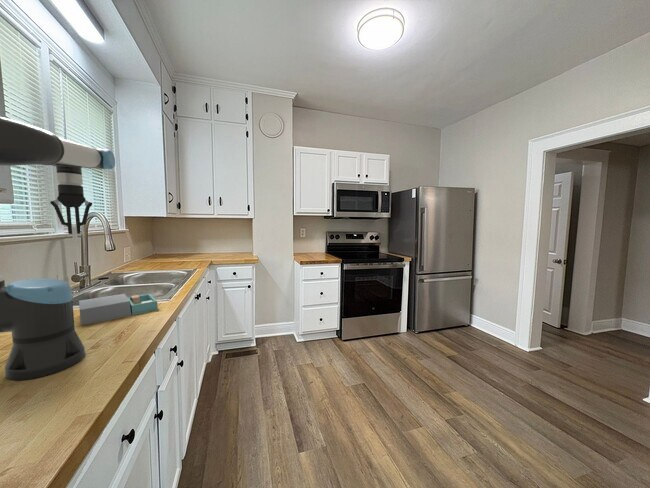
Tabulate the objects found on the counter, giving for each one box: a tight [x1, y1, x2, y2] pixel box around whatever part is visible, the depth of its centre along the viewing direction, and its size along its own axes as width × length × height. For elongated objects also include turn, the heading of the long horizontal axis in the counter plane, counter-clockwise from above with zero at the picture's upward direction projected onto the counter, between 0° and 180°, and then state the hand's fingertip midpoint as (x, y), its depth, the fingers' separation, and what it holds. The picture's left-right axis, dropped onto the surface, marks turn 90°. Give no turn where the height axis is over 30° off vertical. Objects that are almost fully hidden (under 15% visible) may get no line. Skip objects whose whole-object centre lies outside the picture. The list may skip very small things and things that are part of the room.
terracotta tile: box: [130, 294, 140, 305], centre depth 118 cm, size 4×4×2 cm
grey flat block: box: [78, 293, 132, 326], centre depth 108 cm, size 15×14×6 cm
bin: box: [127, 293, 158, 316], centre depth 117 cm, size 9×14×4 cm, turn 44°
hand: (75, 241), depth 111 cm, fingers closed
